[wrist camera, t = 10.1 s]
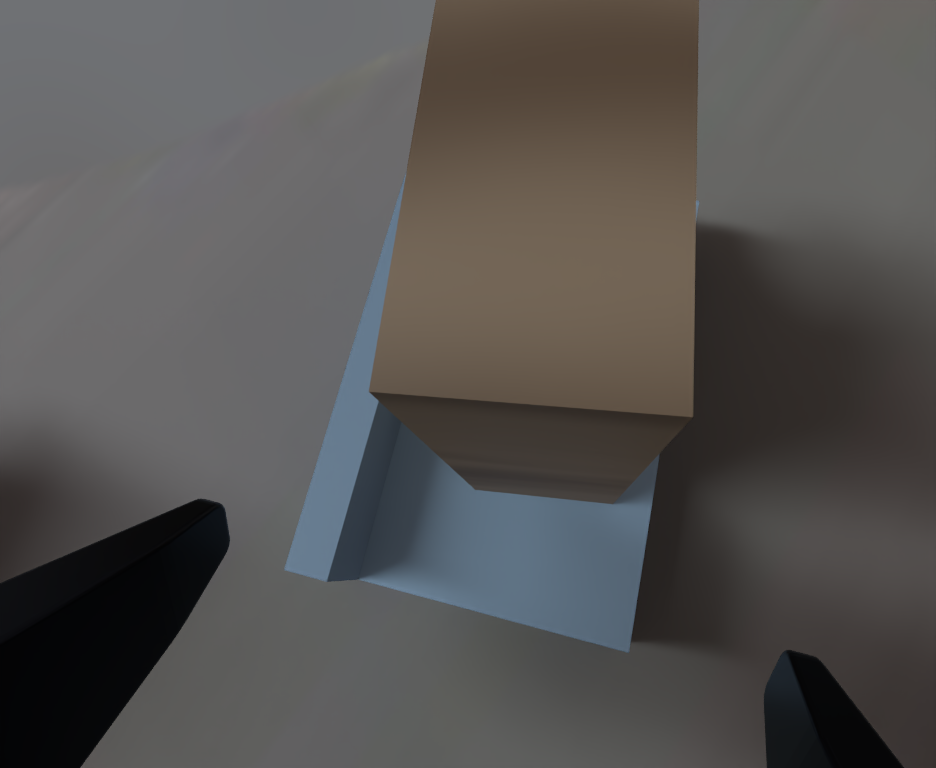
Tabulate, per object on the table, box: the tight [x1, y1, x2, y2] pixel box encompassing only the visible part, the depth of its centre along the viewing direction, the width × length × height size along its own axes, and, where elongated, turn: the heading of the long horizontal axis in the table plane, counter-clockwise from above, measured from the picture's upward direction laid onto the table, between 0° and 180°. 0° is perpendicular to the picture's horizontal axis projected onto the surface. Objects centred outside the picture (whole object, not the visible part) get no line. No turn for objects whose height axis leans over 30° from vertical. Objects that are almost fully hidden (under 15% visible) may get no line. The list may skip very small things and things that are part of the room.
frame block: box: [369, 0, 699, 504], centre depth 13 cm, size 7×4×10 cm, turn 173°
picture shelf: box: [284, 170, 699, 653], centre depth 18 cm, size 14×9×5 cm, turn 166°
